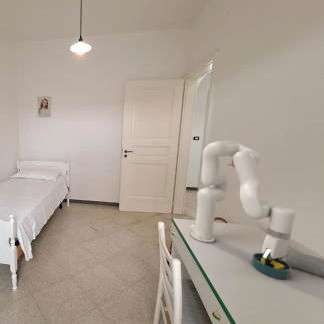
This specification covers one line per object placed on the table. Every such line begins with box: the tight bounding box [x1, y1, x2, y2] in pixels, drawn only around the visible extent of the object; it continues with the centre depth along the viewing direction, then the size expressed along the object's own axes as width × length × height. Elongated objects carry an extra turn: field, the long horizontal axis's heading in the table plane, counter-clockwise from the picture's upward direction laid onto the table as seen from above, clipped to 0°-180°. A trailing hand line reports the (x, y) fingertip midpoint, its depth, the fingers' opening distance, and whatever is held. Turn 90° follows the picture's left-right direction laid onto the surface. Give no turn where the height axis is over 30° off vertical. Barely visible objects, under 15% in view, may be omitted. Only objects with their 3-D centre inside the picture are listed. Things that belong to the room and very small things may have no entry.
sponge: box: [261, 258, 285, 270], centre depth 97 cm, size 7×4×4 cm, turn 17°
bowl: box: [251, 252, 293, 280], centre depth 97 cm, size 13×13×4 cm
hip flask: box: [286, 248, 324, 278], centre depth 99 cm, size 16×4×20 cm
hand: (271, 268), depth 97 cm, fingers closed on sponge, 4 cm apart
